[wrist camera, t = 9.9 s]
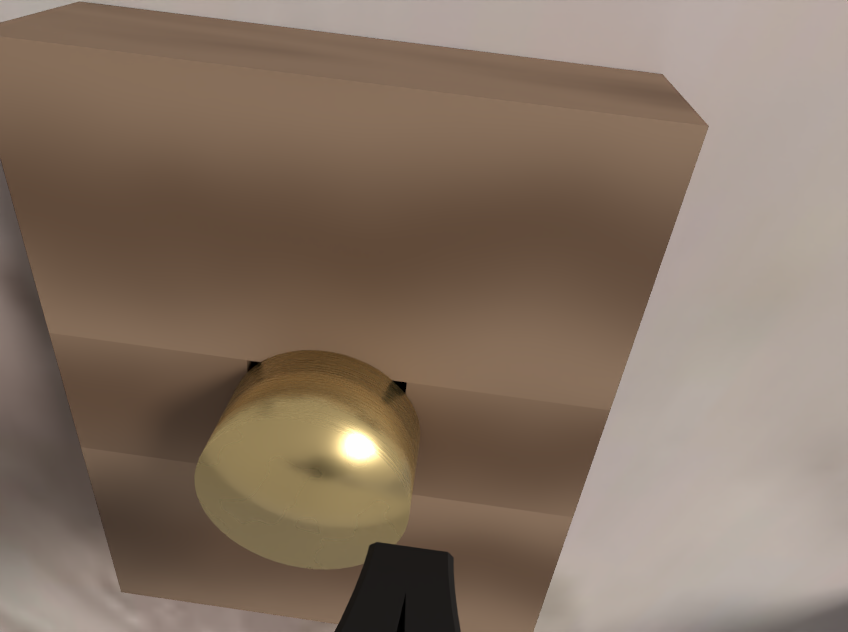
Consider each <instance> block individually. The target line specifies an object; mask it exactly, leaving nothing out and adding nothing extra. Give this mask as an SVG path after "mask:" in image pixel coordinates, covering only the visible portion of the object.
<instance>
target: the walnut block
mask: <svg viewBox="0 0 848 632" xmlns="http://www.w3.org/2000/svg"><path fill="white" fill-rule="evenodd" d="M708 127H709V126H708V125H707V124H706V123H705V121H704V120H703V119H702V118H701V117H700V116H699V115H698V114H697V112H696V111H695V110H694V109H693V108H692V107H691V106H690V105H689V103H688V102H687V101H686V100H685V99H684V98H683V97H682V96H681V95H680V93H679V92H678V91H677V90H676V89H675V88H674V87H673V86H672V84H671V83H670V82H669V81H668V80H667V79H666V78H665V77H664V75H663V74H656V73H648V72H640V71H632V70H624V69H616V68H608V67H600V66H592V65H584V64H576V63H568V62H560V61H552V60H544V59H536V58H528V57H520V56H512V55H504V54H496V53H488V52H480V51H472V50H464V49H456V48H448V47H440V46H432V45H423V44H415V43H407V42H399V41H391V40H383V39H375V38H367V37H359V36H351V35H343V34H335V33H327V32H319V31H311V30H303V29H295V28H287V27H279V26H271V25H263V24H255V23H247V22H239V21H231V20H223V19H215V18H207V17H199V16H191V15H183V14H175V13H167V12H159V11H151V10H143V9H135V8H127V7H119V6H111V5H103V4H95V3H87V2H76V3H72V4H69V5H65V6H61V7H57V8H54V9H50V10H46V11H42V12H38V13H35V14H31V15H27V16H23V17H20V18H16V19H12V20H8V21H5V22H1V23H0V159H1V162H2V166H3V170H4V173H5V177H6V180H7V184H8V187H9V191H10V195H11V198H12V202H13V205H14V209H15V213H16V216H17V220H18V223H19V227H20V230H21V234H22V238H23V241H24V245H25V248H26V252H27V256H28V259H29V263H30V266H31V270H32V274H33V277H34V281H35V284H36V288H37V291H38V295H39V299H40V302H41V306H42V309H43V313H44V317H45V320H46V324H47V327H48V331H49V334H50V338H51V342H52V345H53V349H54V352H55V356H56V360H57V363H58V367H59V370H60V374H61V377H62V381H63V385H64V388H65V392H66V395H67V399H68V403H69V406H70V410H71V413H72V417H73V420H74V424H75V428H76V431H77V435H78V438H79V442H80V446H81V449H82V453H83V456H84V460H85V463H86V467H87V471H88V474H89V478H90V481H91V485H92V489H93V492H94V496H95V499H96V503H97V507H98V510H99V514H100V517H101V521H102V524H103V528H104V532H105V535H106V539H107V542H108V546H109V550H110V553H111V557H112V560H113V564H114V567H115V571H116V575H117V578H118V582H119V585H120V589H121V592H125V593H131V594H138V595H145V596H152V597H158V598H165V599H172V600H179V601H185V602H192V603H199V604H205V605H212V606H219V607H226V608H232V609H239V610H246V611H253V612H259V613H266V614H273V615H280V616H286V617H293V618H300V619H307V620H313V621H320V622H327V623H334V624H339V622H340V620H341V617H342V615H343V613H344V611H345V609H346V606H347V604H348V602H349V600H350V598H351V595H352V593H353V591H354V588H355V586H356V583H357V581H358V578H359V576H360V573H361V570H362V567H363V565H364V564H361V565H357V566H353V567H348V568H341V569H308V568H300V567H295V566H290V565H286V564H282V563H279V562H275V561H272V560H270V559H267V558H264V557H262V556H260V555H257V554H255V553H253V552H251V551H249V550H247V549H246V548H244V547H242V546H240V545H239V544H237V543H236V542H234V541H233V540H232V539H230V538H229V537H228V536H226V535H225V534H224V533H223V532H222V531H221V530H220V529H219V528H218V527H217V526H216V525H215V524H214V523H213V522H212V521H211V520H210V518H209V517H208V516H207V514H206V513H205V511H204V509H203V508H202V506H201V504H200V502H199V499H198V497H197V494H196V489H195V478H194V475H195V470H196V465H197V463H198V460H199V458H200V456H201V454H202V452H203V450H204V448H205V446H206V444H207V442H208V441H209V439H210V437H211V435H212V433H213V431H214V429H215V427H216V425H217V423H218V422H219V420H220V418H221V416H222V414H223V412H224V410H225V408H226V406H227V404H228V403H229V401H230V399H231V397H232V395H233V393H234V391H235V389H236V387H237V385H238V384H239V382H240V381H241V379H242V378H243V377H244V376H245V374H246V373H247V372H248V371H249V370H250V369H252V368H253V367H254V366H256V365H257V364H258V363H260V362H262V361H264V360H266V359H268V358H270V357H273V356H275V355H278V354H282V353H286V352H291V351H299V350H320V351H329V352H334V353H339V354H343V355H347V356H350V357H353V358H356V359H358V360H360V361H363V362H365V363H367V364H369V365H371V366H373V367H375V368H376V369H378V370H380V371H381V372H382V373H384V374H385V375H387V376H388V377H389V378H391V379H392V380H394V381H401V382H407V385H406V395H407V397H408V398H409V400H410V401H411V403H412V405H413V407H414V409H415V411H416V413H417V417H418V420H419V425H420V443H419V450H418V457H417V464H416V471H415V478H414V485H413V492H412V499H411V506H410V513H409V520H408V523H407V527H406V529H405V531H404V533H403V536H402V537H401V538H400V540H399V541H398V542H397V544H396V545H402V546H409V547H416V548H423V549H430V550H437V551H445V552H449V553H450V554H451V555H452V556H453V557H454V582H455V593H456V602H457V610H458V617H459V623H460V629H461V632H533V631H534V628H535V625H536V622H537V619H538V616H539V613H540V611H541V608H542V605H543V602H544V599H545V596H546V593H547V590H548V588H549V585H550V582H551V579H552V576H553V573H554V570H555V567H556V565H557V562H558V559H559V556H560V553H561V550H562V547H563V544H564V541H565V539H566V536H567V533H568V530H569V527H570V524H571V521H572V518H573V516H574V513H575V510H576V507H577V504H578V501H579V498H580V495H581V493H582V490H583V487H584V484H585V481H586V478H587V475H588V472H589V469H590V467H591V464H592V461H593V458H594V455H595V452H596V449H597V446H598V444H599V441H600V438H601V435H602V432H603V429H604V426H605V423H606V421H607V418H608V415H609V412H610V409H611V406H612V403H613V400H614V398H615V395H616V392H617V389H618V386H619V383H620V380H621V377H622V374H623V372H624V369H625V366H626V363H627V360H628V357H629V354H630V351H631V349H632V346H633V343H634V340H635V337H636V334H637V331H638V328H639V326H640V323H641V320H642V317H643V314H644V311H645V308H646V305H647V303H648V300H649V297H650V294H651V291H652V288H653V285H654V282H655V279H656V277H657V274H658V271H659V268H660V265H661V262H662V259H663V256H664V254H665V251H666V248H667V245H668V242H669V239H670V236H671V233H672V231H673V228H674V225H675V222H676V219H677V216H678V213H679V210H680V207H681V205H682V202H683V199H684V196H685V193H686V190H687V187H688V184H689V182H690V179H691V176H692V173H693V170H694V167H695V164H696V161H697V159H698V156H699V153H700V150H701V147H702V144H703V141H704V138H705V136H706V133H707V130H708Z"/></svg>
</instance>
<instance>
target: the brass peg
mask: <svg viewBox="0 0 848 632" xmlns="http://www.w3.org/2000/svg"><path fill="white" fill-rule="evenodd" d="M419 443H420V425H419V420H418V417H417V413H416V411H415V409H414V407H413V405H412V403H411V401H410V400H409V398H408V397H407V395H406V394H405V393H404V391H403V390H402V389H401V388H400V387H399V386H398V385H397V384H396V383H395V382H394V380H392V379H391V378H389V377H388V376H387V375H385V374H384V373H382V372H381V371H380V370H378V369H376V368H375V367H373V366H371V365H369V364H367V363H365V362H363V361H360V360H358V359H356V358H353V357H350V356H347V355H343V354H339V353H334V352H329V351H320V350H299V351H291V352H286V353H282V354H278V355H275V356H273V357H270V358H268V359H266V360H264V361H262V362H260V363H258V364H257V365H256V366H254V367H253V368H252V369H250V370H249V371H248V372H247V373H246V374H245V376H244V377H243V378H242V379H241V381H240V382H239V384H238V385H237V387H236V389H235V391H234V393H233V395H232V397H231V399H230V401H229V403H228V404H227V406H226V408H225V410H224V412H223V414H222V416H221V418H220V420H219V422H218V423H217V425H216V427H215V429H214V431H213V433H212V435H211V437H210V439H209V441H208V442H207V444H206V446H205V448H204V450H203V452H202V454H201V456H200V458H199V460H198V463H197V465H196V470H195V475H194V478H195V489H196V494H197V497H198V499H199V502H200V504H201V506H202V508H203V509H204V511H205V513H206V514H207V516H208V517H209V518H210V520H211V521H212V522H213V523H214V524H215V525H216V526H217V527H218V528H219V529H220V530H221V531H222V532H223V533H224V534H225V535H226V536H228V537H229V538H230V539H232V540H233V541H234V542H236V543H237V544H239V545H240V546H242V547H244V548H246V549H247V550H249V551H251V552H253V553H255V554H257V555H260V556H262V557H264V558H267V559H270V560H272V561H275V562H279V563H282V564H286V565H290V566H295V567H300V568H308V569H341V568H348V567H353V566H357V565H361V564H364V562H365V559H366V555H367V552H368V548H369V545H371V544H373V543H375V542H381V543H388V544H395V545H396V544H397V542H398V541H399V540H400V538H401V537H402V536H403V533H404V531H405V529H406V527H407V523H408V520H409V513H410V506H411V499H412V492H413V485H414V478H415V471H416V464H417V457H418V450H419Z"/></svg>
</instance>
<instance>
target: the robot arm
mask: <svg viewBox="0 0 848 632" xmlns="http://www.w3.org/2000/svg"><path fill="white" fill-rule="evenodd" d="M335 632H461V629H460V623H459V617H458V610H457V602H456V593H455V582H454V557H453V556H452V555H451V554H450V553H449V552H445V551H437V550H430V549H423V548H416V547H409V546H402V545H395V544H388V543H381V542H375V543H373V544H371V545H369V548H368V552H367V555H366V559H365V562H364V565H363V567H362V570H361V573H360V576H359V578H358V581H357V583H356V586H355V588H354V591H353V593H352V595H351V598H350V600H349V602H348V604H347V606H346V609H345V611H344V613H343V615H342V617H341V620H340V622H339V624H338V626H337V628H336V630H335Z"/></svg>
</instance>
